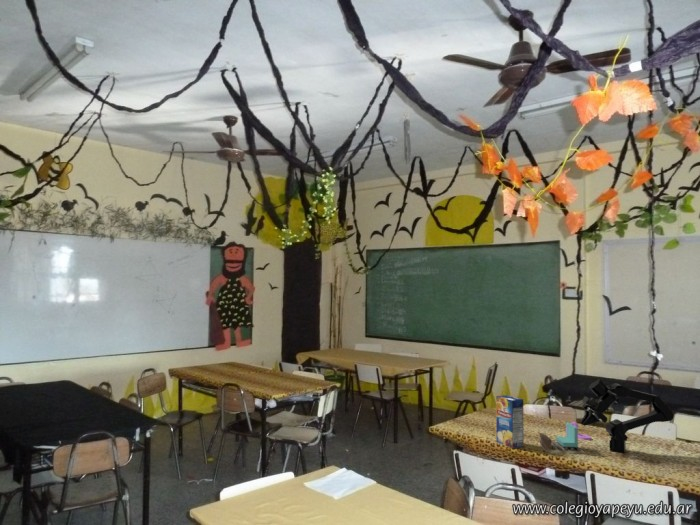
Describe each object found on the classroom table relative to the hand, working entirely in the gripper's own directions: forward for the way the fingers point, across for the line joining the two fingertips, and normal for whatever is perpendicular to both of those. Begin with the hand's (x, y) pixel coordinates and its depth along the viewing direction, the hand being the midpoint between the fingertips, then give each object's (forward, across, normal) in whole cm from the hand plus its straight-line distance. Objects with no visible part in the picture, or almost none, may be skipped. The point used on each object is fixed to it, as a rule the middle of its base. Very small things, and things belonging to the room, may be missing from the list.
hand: (582, 424), depth 259 cm
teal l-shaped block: (+13, 0, +1) cm, 13 cm away
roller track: (+17, 0, +1) cm, 17 cm away
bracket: (+4, -24, +14) cm, 28 cm away
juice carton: (+34, -5, -16) cm, 38 cm away
